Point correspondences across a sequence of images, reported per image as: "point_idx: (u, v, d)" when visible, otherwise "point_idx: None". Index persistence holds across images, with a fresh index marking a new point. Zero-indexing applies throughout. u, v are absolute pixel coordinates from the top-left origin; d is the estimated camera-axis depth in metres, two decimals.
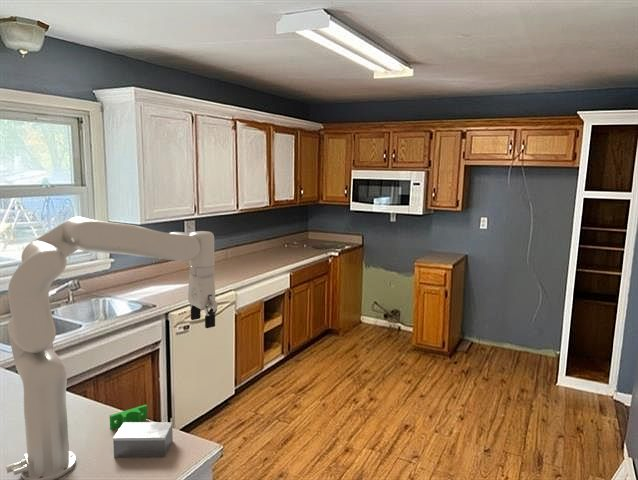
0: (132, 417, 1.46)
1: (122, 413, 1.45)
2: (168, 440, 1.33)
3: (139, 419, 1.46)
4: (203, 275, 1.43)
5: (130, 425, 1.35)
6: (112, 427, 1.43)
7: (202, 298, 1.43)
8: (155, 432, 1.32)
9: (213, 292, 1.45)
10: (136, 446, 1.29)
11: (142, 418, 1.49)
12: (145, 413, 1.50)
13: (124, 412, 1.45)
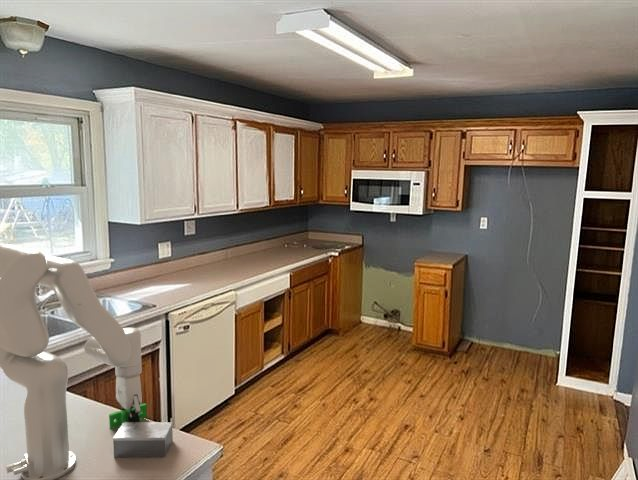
0: None
1: (122, 412, 1.45)
2: (168, 440, 1.33)
3: (139, 418, 1.46)
4: (128, 375, 1.40)
5: (130, 425, 1.35)
6: (112, 426, 1.44)
7: (126, 399, 1.39)
8: (155, 432, 1.32)
9: (139, 391, 1.41)
10: (136, 446, 1.29)
11: (141, 417, 1.50)
12: (144, 412, 1.50)
13: (124, 411, 1.46)
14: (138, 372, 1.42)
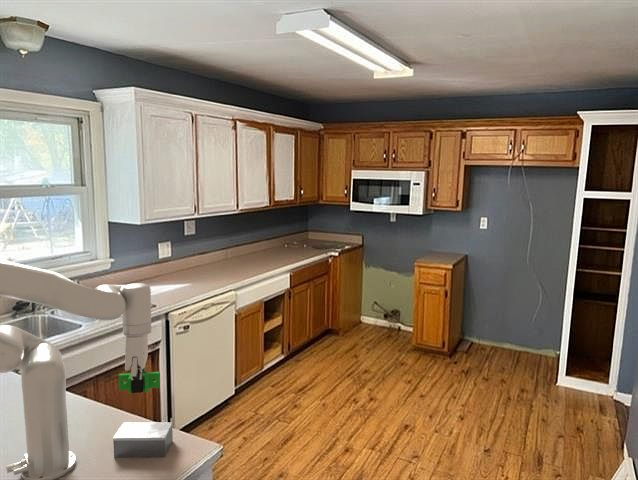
0: None
1: None
2: (168, 440, 1.33)
3: (145, 385, 1.33)
4: (129, 334, 1.28)
5: (130, 425, 1.35)
6: (120, 387, 1.34)
7: (125, 359, 1.28)
8: (155, 432, 1.32)
9: (139, 354, 1.28)
10: (136, 446, 1.29)
11: (154, 385, 1.36)
12: (157, 381, 1.36)
13: None
14: (142, 333, 1.29)
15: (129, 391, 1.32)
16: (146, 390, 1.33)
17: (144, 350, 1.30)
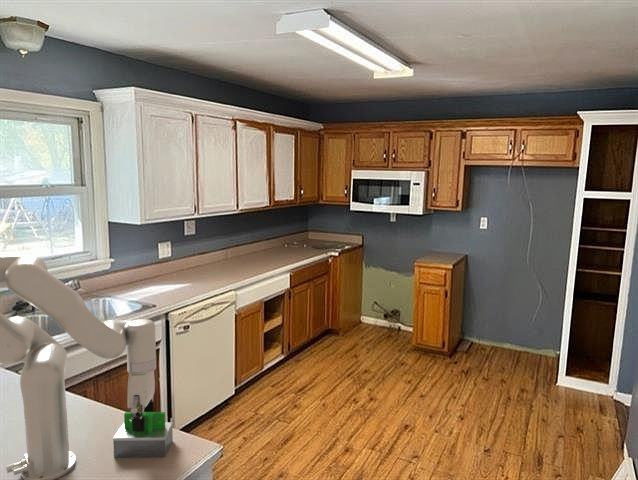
0: (145, 421, 1.32)
1: None
2: (168, 440, 1.33)
3: (149, 426, 1.31)
4: (132, 371, 1.27)
5: None
6: (126, 425, 1.33)
7: None
8: (155, 432, 1.32)
9: (141, 393, 1.26)
10: (136, 446, 1.29)
11: (158, 426, 1.34)
12: (162, 421, 1.33)
13: None
14: (144, 371, 1.27)
15: None
16: (149, 431, 1.31)
17: (147, 388, 1.28)
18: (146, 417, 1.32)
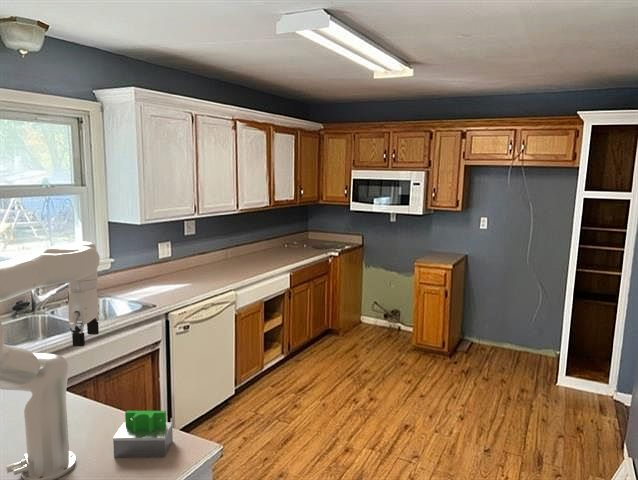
0: (146, 420, 1.33)
1: (137, 413, 1.33)
2: (168, 440, 1.33)
3: (149, 425, 1.31)
4: (73, 289, 1.34)
5: None
6: (127, 424, 1.34)
7: None
8: (155, 432, 1.32)
9: (81, 309, 1.33)
10: (136, 446, 1.29)
11: (159, 425, 1.34)
12: (162, 420, 1.34)
13: (140, 412, 1.34)
14: (85, 289, 1.34)
15: (134, 430, 1.31)
16: (150, 430, 1.32)
17: (87, 306, 1.35)
18: (147, 416, 1.33)
